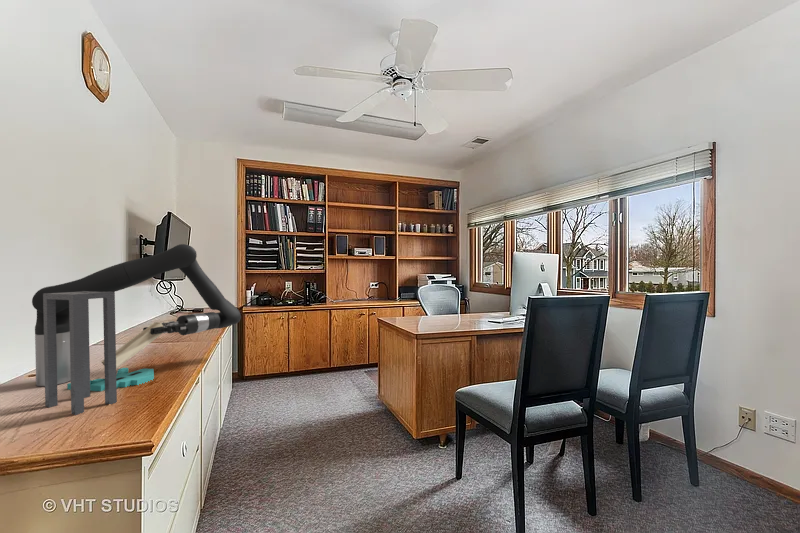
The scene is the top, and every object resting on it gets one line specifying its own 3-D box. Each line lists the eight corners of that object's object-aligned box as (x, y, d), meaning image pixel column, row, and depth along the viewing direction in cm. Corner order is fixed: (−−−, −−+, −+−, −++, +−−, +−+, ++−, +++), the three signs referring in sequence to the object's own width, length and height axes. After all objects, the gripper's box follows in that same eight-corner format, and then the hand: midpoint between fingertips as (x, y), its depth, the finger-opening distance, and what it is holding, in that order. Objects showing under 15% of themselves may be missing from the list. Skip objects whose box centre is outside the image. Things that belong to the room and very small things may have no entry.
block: (107, 369, 123) (100, 361, 122) (160, 330, 139) (154, 322, 137) (113, 371, 122) (107, 362, 120) (166, 330, 137) (161, 322, 136)
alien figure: (67, 390, 123) (118, 393, 119) (67, 383, 123) (118, 386, 119) (123, 373, 143) (169, 375, 139) (123, 367, 143) (169, 369, 139)
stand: (45, 406, 108) (43, 293, 108) (86, 395, 117) (84, 291, 117) (75, 415, 101) (72, 294, 101) (116, 402, 110) (114, 291, 110)
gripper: (180, 313, 152) (134, 319, 136) (204, 314, 145) (159, 321, 130) (181, 332, 152) (135, 340, 136) (205, 334, 145) (160, 343, 130)
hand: (147, 331), depth 133 cm, fingers closed on block, 3 cm apart
